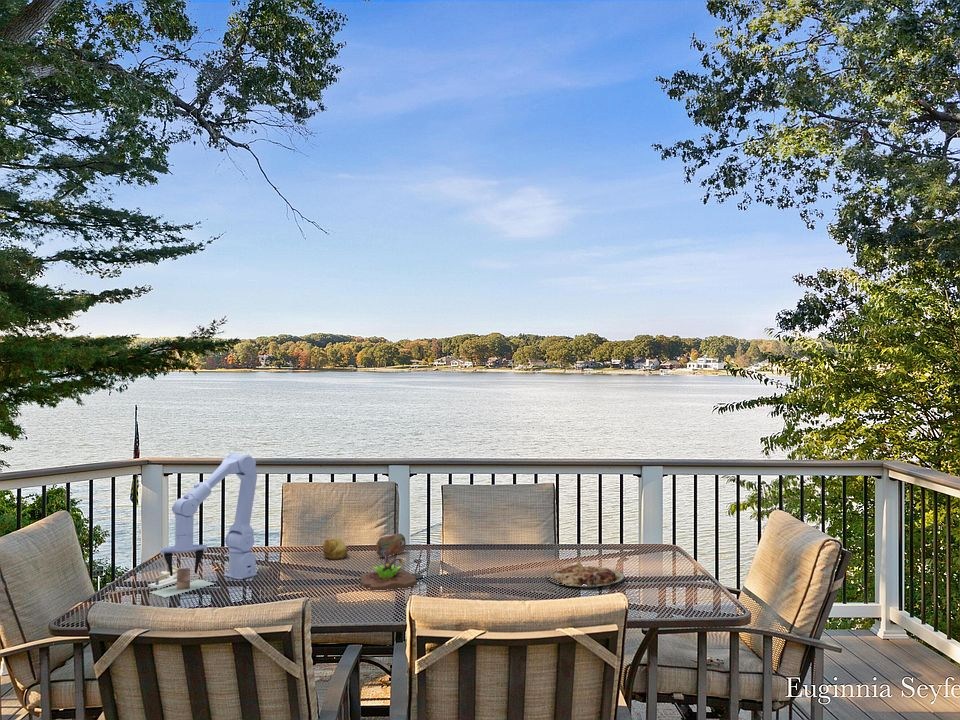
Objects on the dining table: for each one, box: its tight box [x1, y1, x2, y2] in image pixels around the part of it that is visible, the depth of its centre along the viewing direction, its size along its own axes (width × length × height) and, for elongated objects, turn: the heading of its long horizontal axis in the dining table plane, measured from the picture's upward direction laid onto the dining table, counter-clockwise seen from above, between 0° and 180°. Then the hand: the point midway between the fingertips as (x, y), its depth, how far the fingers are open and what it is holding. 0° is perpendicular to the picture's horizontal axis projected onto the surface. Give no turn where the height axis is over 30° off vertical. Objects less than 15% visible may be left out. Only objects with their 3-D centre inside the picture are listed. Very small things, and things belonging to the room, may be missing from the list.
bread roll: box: [322, 538, 348, 560], centre depth 290 cm, size 13×10×8 cm
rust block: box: [176, 567, 191, 590], centre depth 243 cm, size 4×4×6 cm
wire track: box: [147, 564, 180, 590], centre depth 253 cm, size 17×17×4 cm
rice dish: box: [546, 562, 625, 589], centre depth 259 cm, size 28×28×5 cm
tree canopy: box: [375, 533, 407, 558], centre depth 293 cm, size 15×3×8 cm, turn 143°
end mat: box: [149, 579, 216, 599], centre depth 243 cm, size 9×19×1 cm, turn 146°
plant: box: [359, 551, 418, 591], centre depth 253 cm, size 20×20×11 cm
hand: (183, 574), depth 243 cm, fingers open, 7 cm apart
